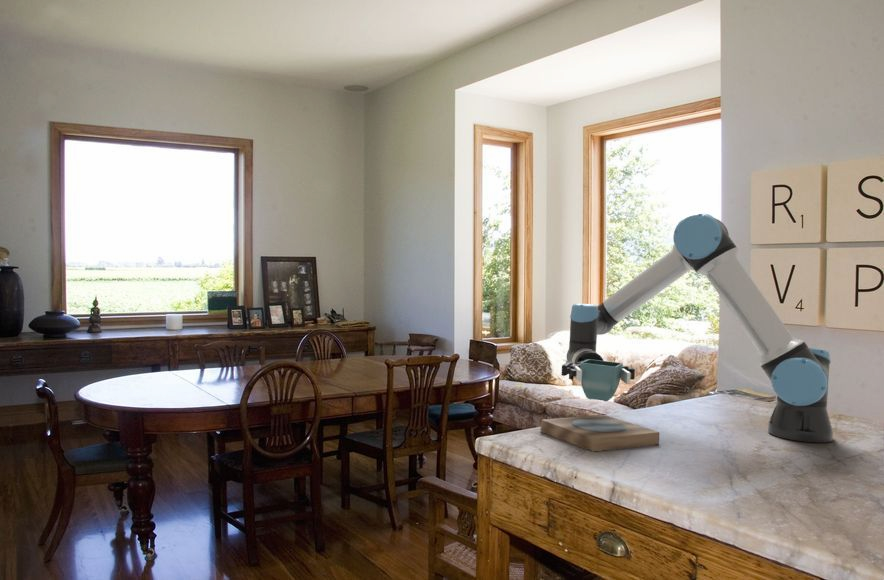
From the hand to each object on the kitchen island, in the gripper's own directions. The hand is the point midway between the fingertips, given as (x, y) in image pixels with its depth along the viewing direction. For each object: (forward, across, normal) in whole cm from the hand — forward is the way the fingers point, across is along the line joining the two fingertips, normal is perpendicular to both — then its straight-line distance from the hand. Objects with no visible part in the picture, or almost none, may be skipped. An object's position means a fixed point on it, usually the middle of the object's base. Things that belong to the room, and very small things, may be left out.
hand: (604, 377), depth 165 cm
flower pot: (-4, 0, -6) cm, 7 cm away
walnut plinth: (-4, 0, -16) cm, 16 cm away
